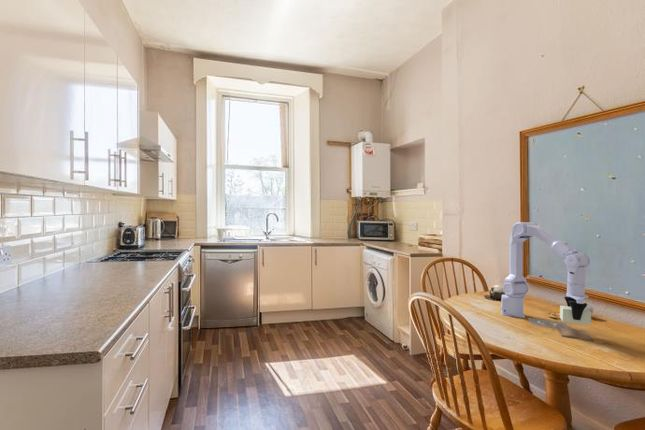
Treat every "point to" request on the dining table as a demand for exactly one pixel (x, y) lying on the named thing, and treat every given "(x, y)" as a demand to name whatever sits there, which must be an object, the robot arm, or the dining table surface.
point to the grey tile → (547, 323)
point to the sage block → (567, 316)
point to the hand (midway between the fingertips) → (574, 317)
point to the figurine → (553, 315)
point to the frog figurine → (589, 308)
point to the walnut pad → (574, 334)
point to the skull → (495, 293)
